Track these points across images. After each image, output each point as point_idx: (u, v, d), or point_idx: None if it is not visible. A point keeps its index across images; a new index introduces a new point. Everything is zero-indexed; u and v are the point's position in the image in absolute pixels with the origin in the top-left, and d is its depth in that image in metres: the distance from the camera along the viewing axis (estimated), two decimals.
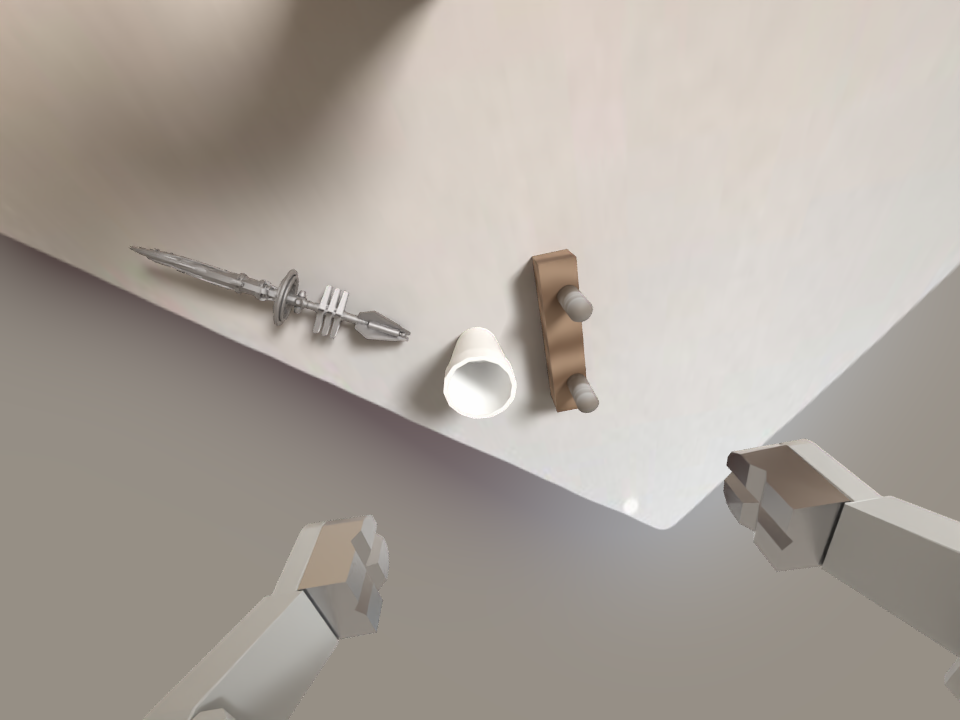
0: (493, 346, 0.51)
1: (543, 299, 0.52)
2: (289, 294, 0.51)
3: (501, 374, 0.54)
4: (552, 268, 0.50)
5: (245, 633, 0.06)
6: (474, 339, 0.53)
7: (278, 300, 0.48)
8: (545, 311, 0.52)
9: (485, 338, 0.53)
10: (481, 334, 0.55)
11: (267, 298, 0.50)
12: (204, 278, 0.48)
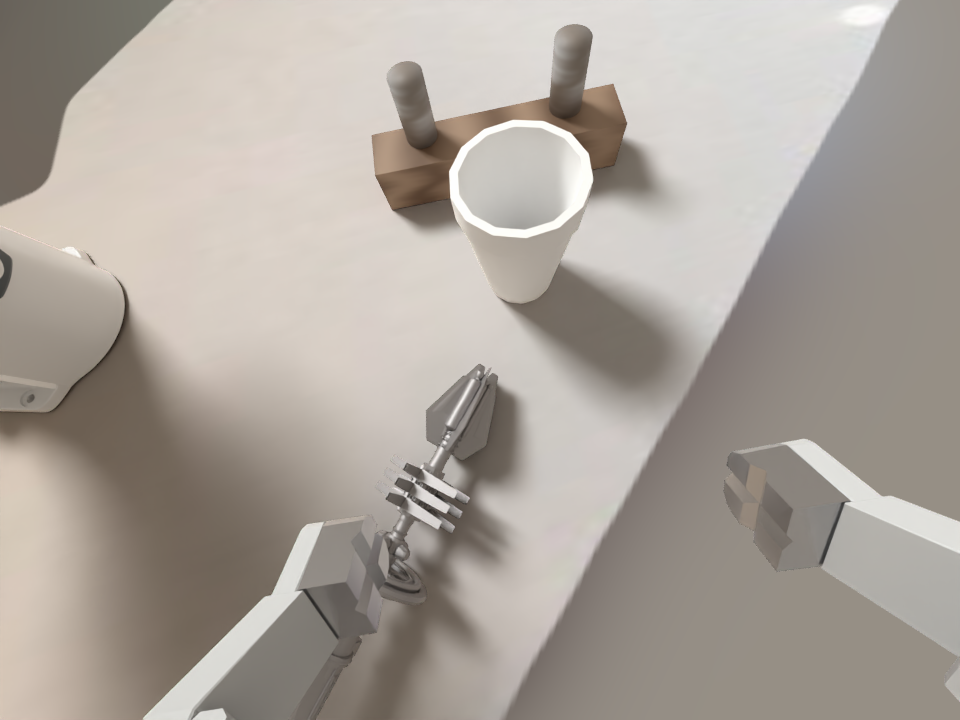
0: None
1: (424, 164, 0.36)
2: None
3: (535, 193, 0.31)
4: (382, 158, 0.37)
5: (245, 633, 0.06)
6: None
7: None
8: (442, 159, 0.36)
9: None
10: None
11: None
12: None
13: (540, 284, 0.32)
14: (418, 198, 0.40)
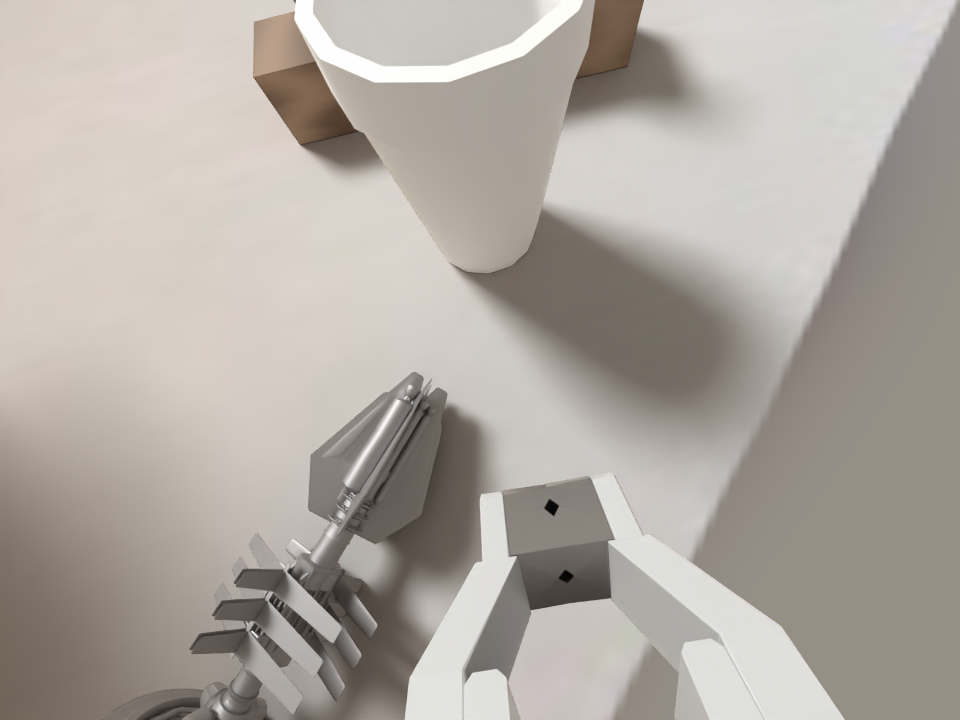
0: None
1: None
2: None
3: None
4: (266, 53, 0.23)
5: (476, 597, 0.06)
6: None
7: None
8: None
9: None
10: None
11: None
12: None
13: (511, 233, 0.19)
14: (335, 124, 0.27)
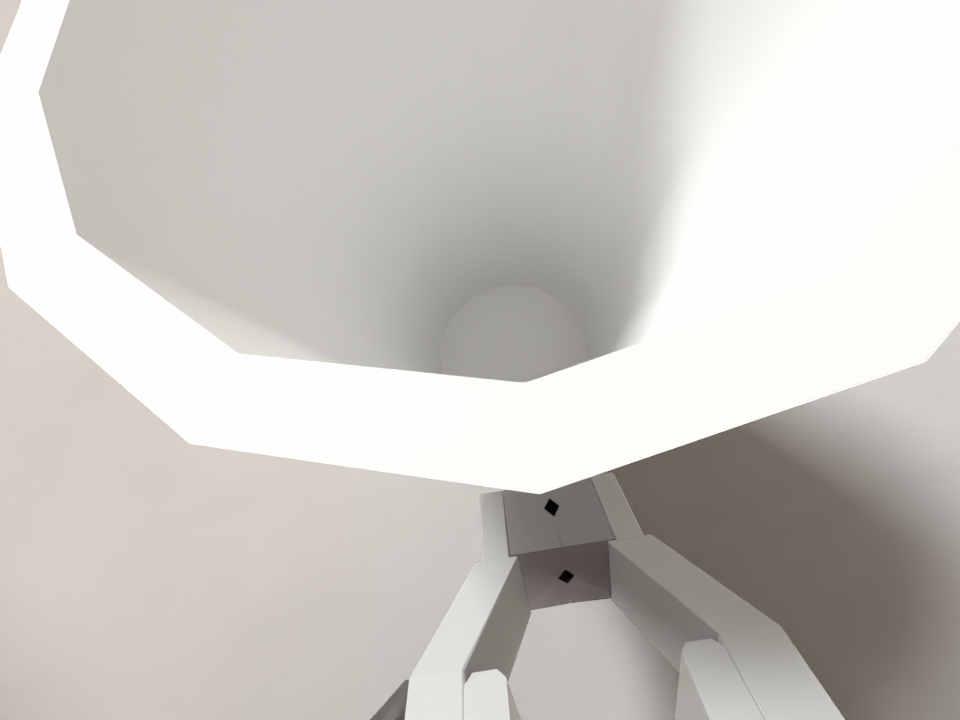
0: None
1: None
2: None
3: (551, 148, 0.10)
4: None
5: (476, 597, 0.06)
6: None
7: None
8: None
9: None
10: None
11: None
12: None
13: None
14: None
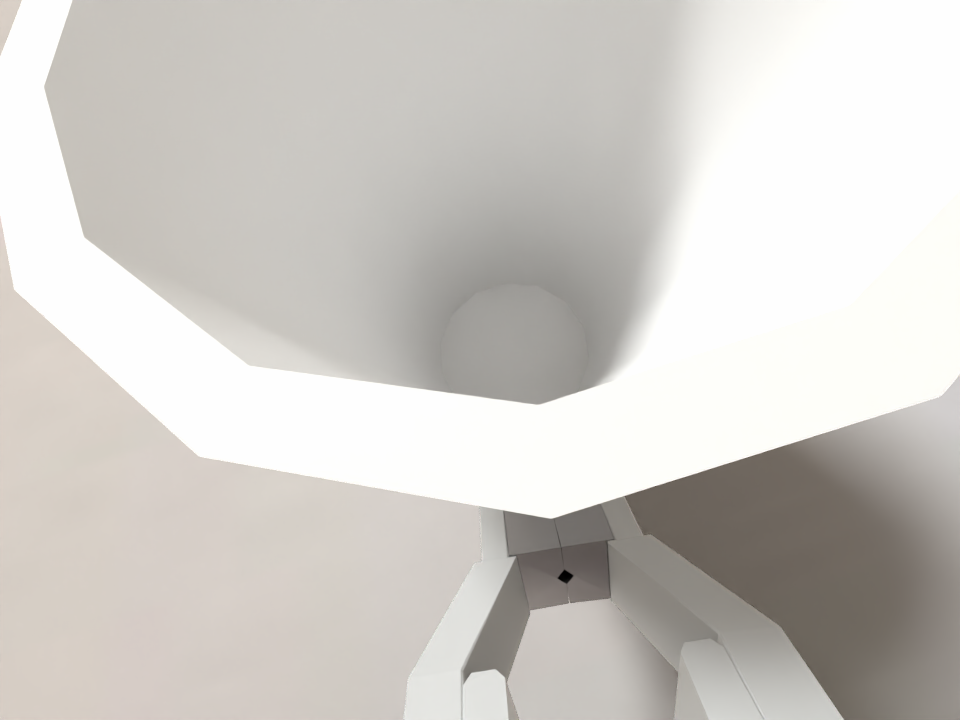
0: None
1: None
2: None
3: (559, 148, 0.10)
4: None
5: (475, 597, 0.06)
6: None
7: None
8: None
9: None
10: None
11: None
12: None
13: None
14: None
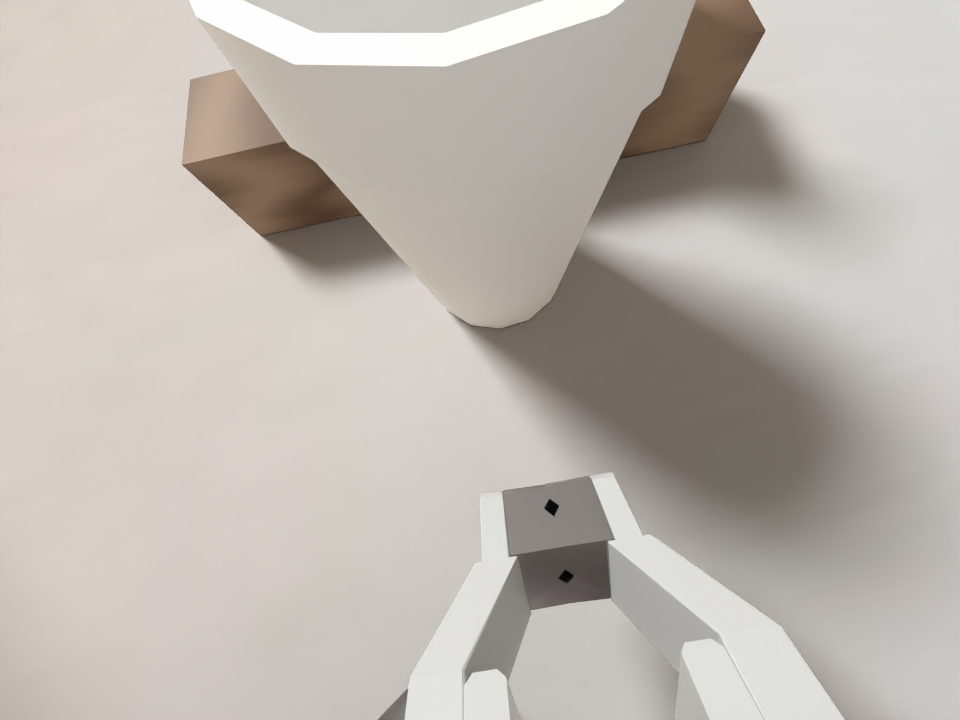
0: None
1: None
2: None
3: None
4: (203, 128, 0.16)
5: (476, 597, 0.06)
6: None
7: None
8: None
9: None
10: None
11: None
12: None
13: (535, 289, 0.14)
14: (306, 213, 0.20)
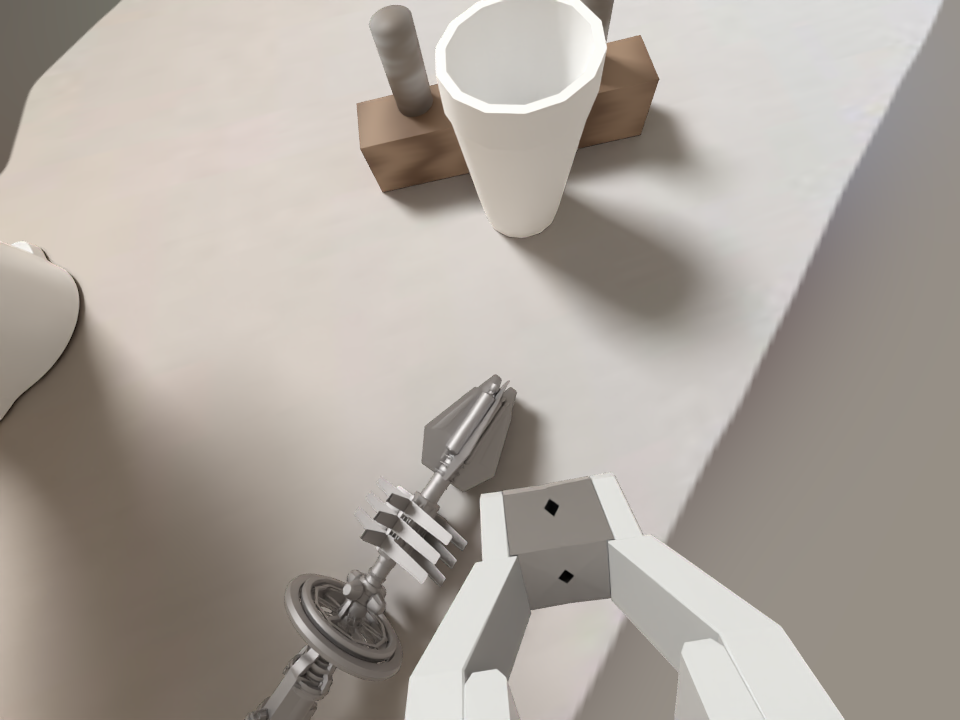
0: None
1: (418, 134, 0.30)
2: (339, 608, 0.22)
3: (538, 98, 0.27)
4: (368, 129, 0.31)
5: (476, 597, 0.06)
6: None
7: (299, 627, 0.19)
8: (439, 128, 0.30)
9: None
10: None
11: (325, 669, 0.20)
12: None
13: (544, 206, 0.28)
14: (412, 177, 0.34)
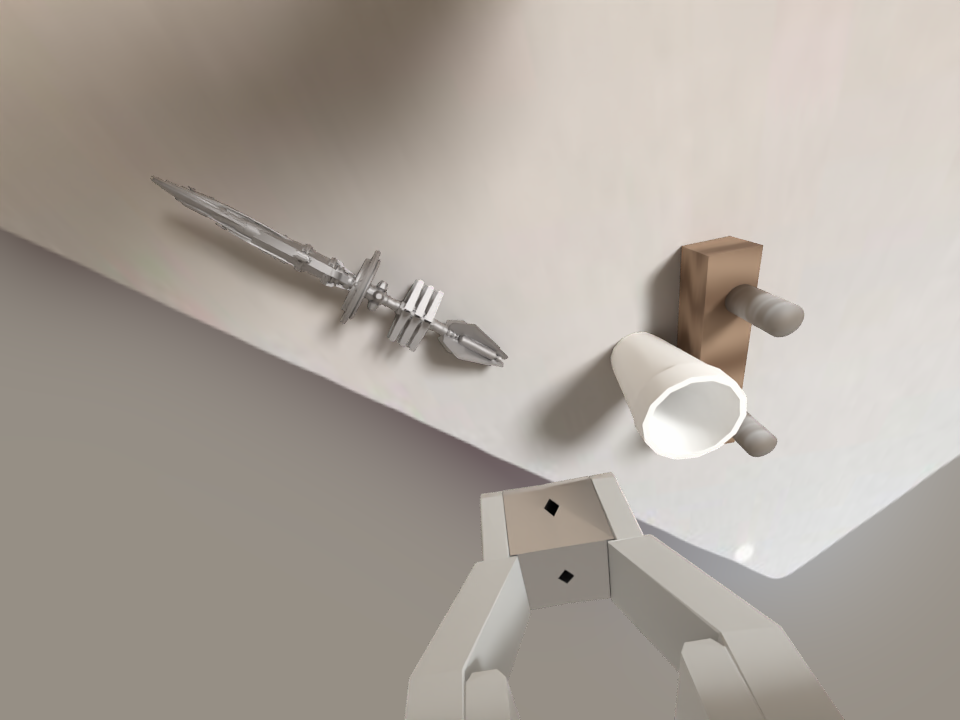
0: (698, 359, 0.37)
1: (705, 304, 0.38)
2: None
3: (692, 396, 0.40)
4: (727, 261, 0.36)
5: (476, 597, 0.06)
6: (664, 349, 0.39)
7: (359, 291, 0.33)
8: (705, 320, 0.39)
9: (675, 348, 0.39)
10: (663, 342, 0.41)
11: (336, 284, 0.36)
12: (254, 242, 0.33)
13: None
14: (684, 277, 0.41)
